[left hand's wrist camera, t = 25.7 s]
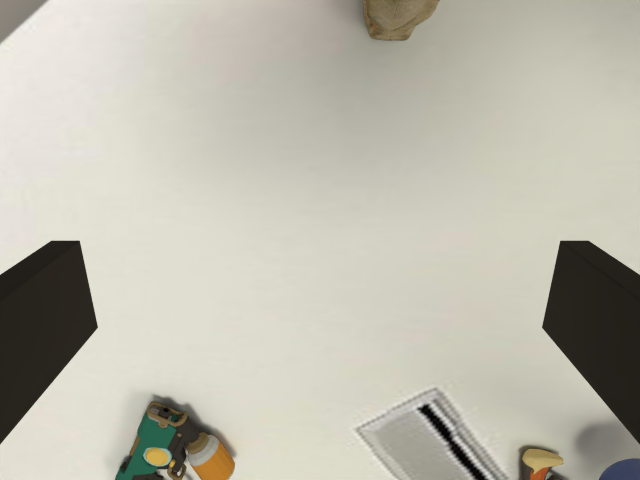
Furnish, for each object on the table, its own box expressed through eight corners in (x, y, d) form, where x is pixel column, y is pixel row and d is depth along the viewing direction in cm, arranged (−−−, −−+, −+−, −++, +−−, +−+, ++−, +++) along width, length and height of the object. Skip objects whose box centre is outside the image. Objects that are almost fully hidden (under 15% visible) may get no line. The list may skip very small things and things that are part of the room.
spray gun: (183, 512, 63) (93, 453, 60) (259, 452, 58) (165, 384, 55) (172, 542, 59) (75, 481, 56) (252, 481, 54) (150, 410, 51)
